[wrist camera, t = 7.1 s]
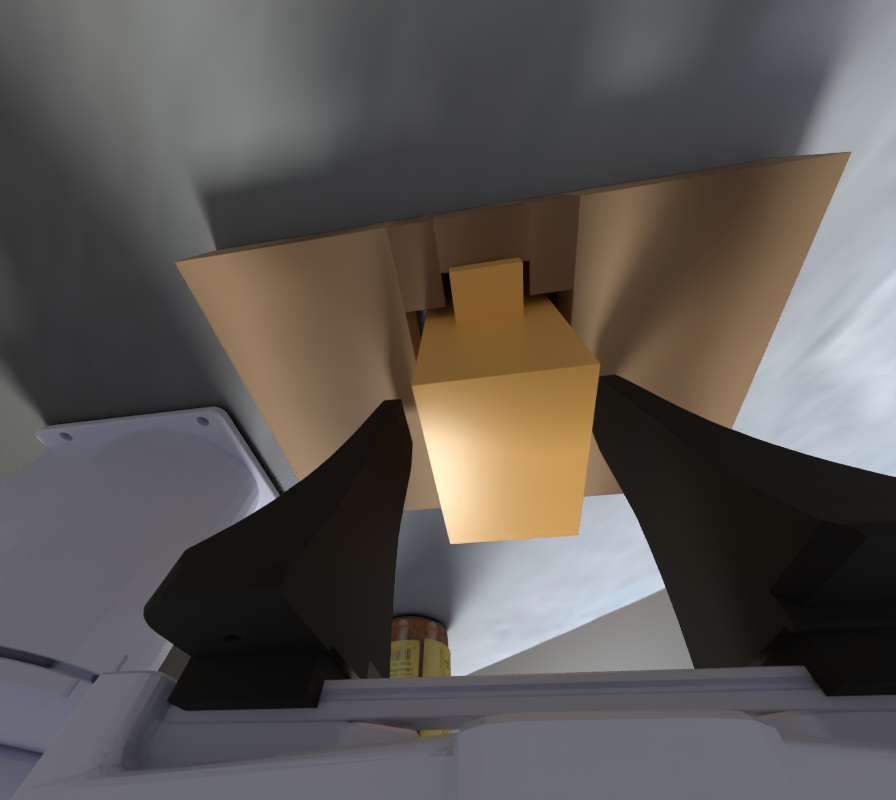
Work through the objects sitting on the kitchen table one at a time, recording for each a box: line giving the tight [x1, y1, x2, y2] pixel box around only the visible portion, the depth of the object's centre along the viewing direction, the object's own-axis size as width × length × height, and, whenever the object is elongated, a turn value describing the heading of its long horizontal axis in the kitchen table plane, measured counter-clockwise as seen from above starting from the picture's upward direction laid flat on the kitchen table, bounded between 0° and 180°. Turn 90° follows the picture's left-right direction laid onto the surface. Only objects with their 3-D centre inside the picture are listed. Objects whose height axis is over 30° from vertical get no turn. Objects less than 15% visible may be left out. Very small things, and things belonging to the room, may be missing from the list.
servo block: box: [412, 257, 600, 544], centre depth 11 cm, size 4×9×6 cm, turn 8°
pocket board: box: [175, 152, 851, 511], centre depth 13 cm, size 18×12×2 cm, turn 98°
